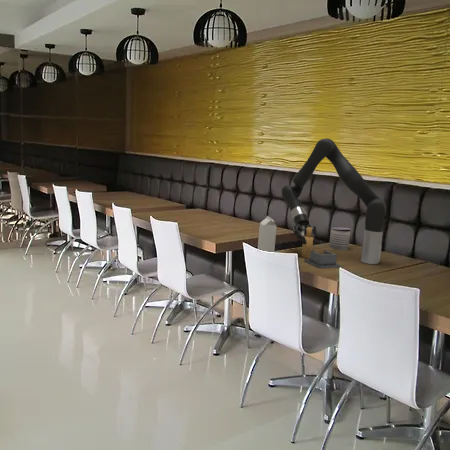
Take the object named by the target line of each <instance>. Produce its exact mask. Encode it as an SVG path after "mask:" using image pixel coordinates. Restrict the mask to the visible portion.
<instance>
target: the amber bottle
mask: <svg viewBox="0 0 450 450" xmlns="http://www.w3.org/2000/svg"><path fill="white" fill-rule="evenodd" d="M312 227H313V226H312ZM312 227H307V233H305V235H304V237H305V239H306V242H307V243H306V244H305V245H304V244H303V243H302V247H301V255H300V256H301V258H304V259H310V254H311V251H313V245H314V244H313V237H312V236H311V233H312Z"/></svg>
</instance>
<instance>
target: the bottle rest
mask: <svg viewBox="0 0 450 450" xmlns="http://www.w3.org/2000/svg"><path fill="white" fill-rule="evenodd" d="M337 259H338V253H334V252H333V251H330V250H327V249H326V250H324V251H323V254H321V253H319V252H317V251H314V250H312V251H311V254H310V258H304V262H305V263H306V264H309V265H311V266H313V267H315V268H318V269H334V267H336V268H341V266H342V265H341V264H339V263H337Z"/></svg>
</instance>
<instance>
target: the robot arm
mask: <svg viewBox="0 0 450 450" xmlns="http://www.w3.org/2000/svg"><path fill="white" fill-rule="evenodd" d="M325 158H327V160H329V162H330V163H331V164H332V165H333V167H334V169H335V172H336V173H337V175H338V177H339V179H340V180H341V181H342V182H343V184H344V185H345V186H346V187H347V188H348V189H349V190H350V191H351V192H352V193H353V194H354V195H355V196H357V197H358V198H359V199H360V200H361V201H362V202H363V204H364V205H365V207H366V212H365V222H364V233H363V240H362V246H361V247H362V249H361V255H360V262H362V263H364V264H369V265H378V264H379V263H380V261H381V252H382V241H383V234H384V233H383V232H384V221H385V214H386V212H387V204H386V203H385V202H384V200H382V199H381V198H380V197H379V196H378V195H377V193H375V192H374V191H373V189H372V188H371V186H369V184H368V183H367V181H366V180H365V179H364V178H363V176H362V175H361V173H359V171H358V170H357V169H356V168H355V167H354V166H353V164H351V162H350V161H349V160H348V159H347V158H346V157H345V156H344V155H343V153H342V152H341V149H339V147H338V145H336V143H335V141H334V140H333V139H331V138H329V137H328V138H327V137H326V138H322V139H321V138H320V139H319V140H318V141H317V142H316V144H315V146H314V148H313V149H312V151H311V153H310V155H309V157H308V159H307V160H306V161H305V163H304V164H303V165H302V167H301V168H299V170H298V172H297V173H296V174H295V176H294V177H293V178H292V182H293V183H294V186H293V185H289V184H286V185H284V186H283V187H282V189H281V196H282V198H283V199H284V201H285V203H286V205H288V206H289V210H290V213H291V218H292V221H293V222H294V226H293V227H292V231H293V233H294V235H295V237H296V238H297V239H299V238H300V242H301V243H302V245H303V244H304V245H305V244H306V243H307V242H306V239H305V237H304V236H305V234H306V233H307V227H312V233H311V236H312V237H313V245H315V244H316V243H317V240H316V236H317V235H318V233H317V227H316V226H315V225H313V226H312V225H311V224H310V220H309V218H308V214H307V213H306V210H305V209H304V206H303V204H302V203H303V202H302V201H301V199H299V197H300V196H301V194H302V192H303V189H304V187H305V185H306V184H307V182H308V181H309V180H310V179H311V177H312V176H313V173H315V170H316V169H317V167H318V165H319V164H320V163H321V162H322V161H323V160H324V159H325Z"/></svg>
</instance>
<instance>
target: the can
mask: <svg viewBox="0 0 450 450" xmlns="http://www.w3.org/2000/svg"><path fill="white" fill-rule="evenodd" d="M350 236H351V228H349V227H330V234H329V244H328V246H329V248H331V249H334V250H339V251H340V250H341V251H348V249H349V245H350Z"/></svg>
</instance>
